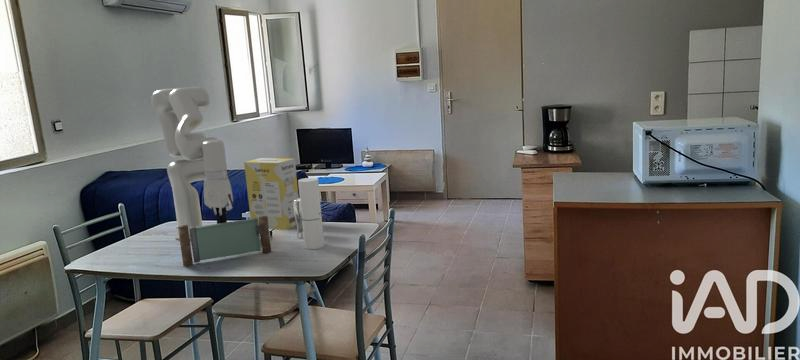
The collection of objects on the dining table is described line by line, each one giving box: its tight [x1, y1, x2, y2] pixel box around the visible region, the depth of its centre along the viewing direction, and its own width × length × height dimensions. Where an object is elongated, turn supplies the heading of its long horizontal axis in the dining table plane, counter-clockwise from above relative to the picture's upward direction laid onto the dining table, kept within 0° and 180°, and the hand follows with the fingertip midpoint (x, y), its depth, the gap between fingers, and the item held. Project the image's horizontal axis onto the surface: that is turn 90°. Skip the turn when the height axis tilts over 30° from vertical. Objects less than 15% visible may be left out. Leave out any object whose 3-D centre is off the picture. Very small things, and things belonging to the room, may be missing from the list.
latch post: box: [256, 216, 272, 254], centre depth 207 cm, size 5×4×13 cm
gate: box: [189, 218, 262, 264], centre depth 203 cm, size 23×2×12 cm, turn 111°
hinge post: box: [177, 225, 194, 267], centre depth 198 cm, size 3×3×14 cm
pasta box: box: [243, 157, 300, 231], centre depth 243 cm, size 18×10×28 cm, turn 63°
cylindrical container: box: [297, 177, 325, 250], centre depth 209 cm, size 7×7×25 cm
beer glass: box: [293, 197, 304, 240], centre depth 224 cm, size 7×7×15 cm
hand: (222, 224), depth 208 cm, fingers closed
